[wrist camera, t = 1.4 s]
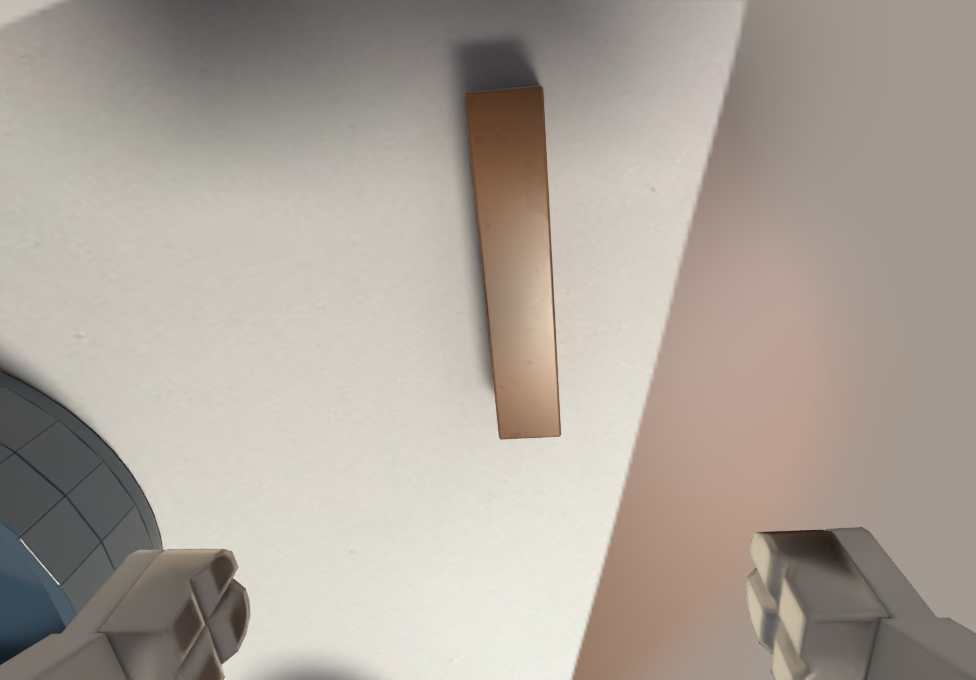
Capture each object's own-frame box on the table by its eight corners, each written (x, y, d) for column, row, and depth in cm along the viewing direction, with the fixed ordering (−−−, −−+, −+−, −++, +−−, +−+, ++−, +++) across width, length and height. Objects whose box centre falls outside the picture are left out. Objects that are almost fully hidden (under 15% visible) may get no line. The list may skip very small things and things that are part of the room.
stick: (472, 91, 21) (464, 93, 19) (540, 84, 21) (543, 85, 18) (501, 403, 27) (499, 440, 24) (557, 400, 26) (561, 437, 24)
